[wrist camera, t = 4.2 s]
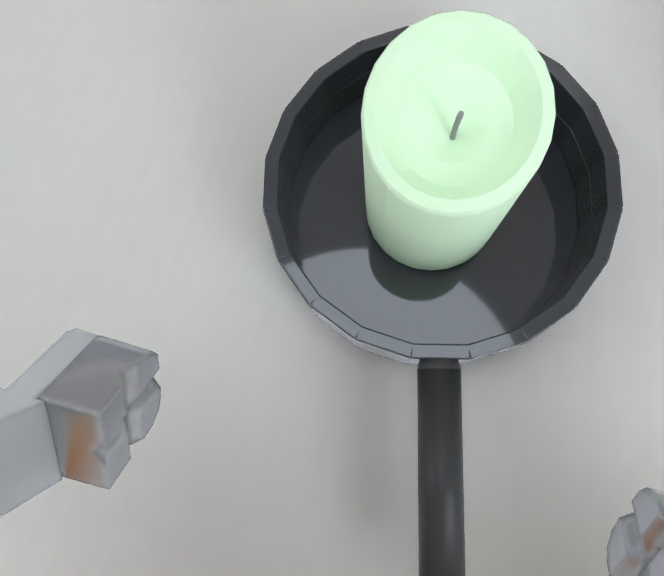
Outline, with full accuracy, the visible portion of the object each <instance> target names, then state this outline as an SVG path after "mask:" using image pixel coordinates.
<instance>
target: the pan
mask: <svg viewBox="0 0 664 576" xmlns="http://www.w3.org/2000/svg"><path fill="white" fill-rule="evenodd" d="M408 27H409V26H406V27H403V28H400V29H396V30H393V31H390V32H387V33H384V34H381V35H378V36H374V37H371V38H368V39H365V40H362V41H360V42H358V43H356V44H355V45H353V46H352V47H350V48H349V49H347V50H346V51H344V52H343V53H341V54H340V55H338V56H337V57H335V58H334V59H332V60H331V61H329V62H328V63H326V64H325V65H323V66H322V67H320V68H319V69H318V70H317V71H315V72H314V74H313V75H312V76H311V77H310V79H309V80H308V81H307V82H306V84H305V85H304V86H303V87H302V89H301V90H300V91H299V92H298V93H297V95H296V96H295V97H294V98H293V100H292V101H291V102H290V103H289V105H288V106H287V107H286V108H285V111H283V114H282V116H281V119H280V121H279V124H278V127H277V129H276V132H275V134H274V137H273V139H272V142H271V145H270V147H269V150H268V152H267V155H266V159H265V174H264V195H263V209H264V210H263V212H264V215H265V219H266V222H267V226H268V229H269V233H270V236H271V240H272V243H273V246H274V250H275V253H276V257H277V259H278V262H279V263H280V265H281V266H282V268H283V269H284V270H285V272H286V273H287V275H288V276H289V278H290V279H291V280H292V282H293V283H294V285H295V286H296V288H297V289H298V291H299V292H300V293H301V295H302V296H303V298H304V299H305V301H306V302H307V303H308V305H309V306H310V308H311V309H312V310H313V312H314V313H315V315H316V316H317V317H318V318H319V319H320V320H322V321H323V322H324V323H326V324H327V325H328V326H330V327H331V328H332V329H333V330H334V331H336V332H337V333H339V334H340V335H342V336H343V337H344V338H346V339H347V340H349V341H350V342H351V343H353V344H354V345H355V346H358V347H359V348H361V349H364V350H367V351H369V352H372V353H375V354H377V355H380V356H383V357H386V358H389V359H393V360H396V361H399V362H402V363H407V364H418V363H419V360H423V359H434V358H439V357H442V358H447V359H451V360H458V361H459V363H460V364H463V363H467V362H470V361H473V360H476V359H480V358H483V357H486V356H489V355H493V354H496V353H499V352H502V351H506V350H509V349H511V348H514V347H516V346H519V345H522V344H524V343H526V342H529V341H530V340H532V339H533V338H535V337H536V336H537V335H539V334H540V333H542V332H543V331H544V330H546V329H547V328H549V327H550V326H551V325H553V324H554V323H556V322H557V321H558V320H560V319H561V318H562V317H564V316H565V315H567V314H568V313H569V312H571V311H572V310H574V308H575V307H577V305H578V304H579V303H580V301H581V300H582V298H583V297H584V295H585V294H586V293H587V291H588V290H589V288H590V287H591V285H592V284H593V283H594V281H595V280H596V278H597V277H598V276H599V274H600V273H601V271H602V270H603V268H604V267H605V266H606V264H607V262H608V260H609V257H610V254H611V250H612V246H613V243H614V239H615V235H616V232H617V228H618V224H619V221H620V217H621V213H622V210H623V209H622V207H623V202H622V189H621V177H620V164H619V155H618V151H617V149H616V146H615V144H614V142H613V140H612V137H611V135H610V133H609V131H608V128H607V126H606V124H605V121H604V119H603V117H602V115H601V112H600V110H599V108H598V106H597V105H596V102H595V101H594V100H593V99H592V98H591V97H590V96H589V95H588V94H587V93H586V91H585V90H584V89H583V88H582V87H581V86H580V85H579V84H578V83H577V81H576V80H575V79H574V78H573V77H572V76H571V75H570V74H569V73H568V72H567V70H566V69H565V68H564V67H563V66H562V65H560V64H559V63H558V62H556V61H554V60H553V59H551V58H549V57H547V56H546V55H544V54H542V53H541V52H539V51H538V52H539V54H540V55H541V57H542V58H543V60H544V61H545V63H546V66H547V69H548V72H549V75H550V78H551V81H552V83H553V86H554V96H555V109H556V117H555V123H554V128H553V134H552V139H551V143H550V145H549V147H548V150H547V152H546V154H545V156H544V158H543V161H542V163H541V165H540V167H539V168H538V170H537V171H536V173H535V174H534V176H533V177H532V178H531V180H530V181H529V183H528V184H527V186H526V187H525V188H524V190H523V191H522V193H521V194H520V196H519V197H518V198H517V200H516V201H515V203H514V204H513V206H512V207H511V208H510V210H509V211H508V213H507V214H506V216H505V217H504V218H503V220H502V221H501V223H500V224H499V226H498V227H497V228H496V230H495V231H494V233H493V234H492V236H491V237H490V238H489V240H488V241H487V242H486V244H485V245H484V246H483V247H482V249H481V250H480V251H479V252H478V253H477V254H476V255H474V256H473V257H471V258H470V259H469V260H467V261H466V262H464V263H462V264H459V265H457V266H454V267H451V268H449V269H441V270H432V271H430V270H423V269H416V268H412V267H410V266H407V265H405V264H402V263H400V262H398V261H396V260H395V259H394V258H392V257H391V256H390V255H388V254H387V253H386V252H385V251H384V250H383V249H382V248H381V247H380V245H379V244H378V243H377V241H376V240H375V239H374V237H373V235H372V232H371V230H370V227H369V225H368V221H367V212H366V199H365V181H364V163H363V145H362V127H361V111H362V104H363V96H364V89H365V86H366V84H367V82H368V79H369V77H370V74H371V72H372V69H373V67H374V64H375V63H376V61H377V60H378V59H379V57H380V56H381V54H382V53H383V52H384V50H385V49H386V47H387V46H388V45H389V43H390V42H391V41H392V40H394V39H395V38H396V37H397V36H398V35H400V34H401V33H402V32H403V31H404V30H406V29H407V28H408Z"/></svg>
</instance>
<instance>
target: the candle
mask: <svg viewBox="0 0 664 576" xmlns="http://www.w3.org/2000/svg"><path fill="white" fill-rule="evenodd" d="M555 117H556V109H555V96H554V86H553V83H552V81H551V78H550V75H549V72H548V69H547V66H546V63H545V61H544V60H543V58H542V57H541V55H540V54H539V52H538V51H537V49H536V48H535V47H534V45H533V44H532V42H531V41H530V40H529V39H528V38H527V37H526V36H525V35H523V34H522V33H521V32H520V31H518V30H517V29H516V28H515V27H514V26H512V25H511V24H510V23H508V22H505V21H503V20H501V19H499V18H496V17H494V16H492V15H489V14H487V13H481V12H472V11H464V10H458V11H451V12H445V13H439V14H434V15H432V16H430V17H428V18H425V19H423V20H421V21H419V22H417V23H414V24H412V25H410V26H409V27H408V28H407V29H406V30H404V31H403V32H402V33H401V34H400V35H398V36H397V37H396V38H395V39H394V40H392V41H391V42H390V43H389V45H388V46H387V47H386V49H385V50H384V52H383V53H382V54H381V56H380V57H379V59H378V60H377V61H376V63H375V64H374V67H373V69H372V72H371V74H370V77H369V79H368V82H367V84H366V86H365V89H364V96H363V104H362V111H361V127H362V145H363V163H364V181H365V199H366V212H367V221H368V225H369V227H370V230H371V232H372V235H373V237H374V239H375V240H376V241H377V243H378V244H379V245H380V247H381V248H382V249H383V250H384V251H385V252H386V253H387V254H388V255H390V256H391V257H392V258H394V259H395V260H396V261H398V262H400V263H402V264H405V265H407V266H410V267H412V268H416V269H423V270H430V271H432V270H441V269H449V268H451V267H454V266H457V265H459V264H462V263H464V262H466V261H467V260H469V259H470V258H471V257H473V256H474V255H476V254H477V253H478V252H479V251H480V250H481V249H482V247H483V246H484V245H485V244H486V242H487V241H488V240H489V238H490V237H491V236H492V234H493V233H494V231H495V230H496V228H497V227H498V226H499V224H500V223H501V221H502V220H503V218H504V217H505V216H506V214H507V213H508V211H509V210H510V208H511V207H512V206H513V204H514V203H515V201H516V200H517V198H518V197H519V196H520V194H521V193H522V191H523V190H524V188H525V187H526V186H527V184H528V183H529V181H530V180H531V178H532V177H533V176H534V174H535V173H536V171H537V170H538V168H539V167H540V165H541V163H542V161H543V158H544V156H545V154H546V152H547V150H548V147H549V145H550V143H551V139H552V134H553V128H554V123H555Z"/></svg>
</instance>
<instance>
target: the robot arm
mask: <svg viewBox="0 0 664 576" xmlns="http://www.w3.org/2000/svg"><path fill="white" fill-rule="evenodd" d="M158 370H159V361H158V354H156V353H155V352H153V351H150V350H147V349H143V348H140V347H137V346H134V345H130V344H127V343H124V342H120V341H117V340H114V339H111V338H107V337H104V336H99V335H96V334H93V333H89V332H86V331H83V330H79V329H76V328H75V329H73V330H70V331H67V332H66V333H65V334H64V335H62V336H61V337H60V338H59V339H58V340H57V341H56V342H55V343H54V344H53V345H52V346H51V347H50V348H49V349H48V350H47V351H46V352H45V353H44V354H43V355H42V356H41V357H40V358H39V359H37V360H36V361H35V362H34V363H33V364H32V365H31V366H30V367H29V368H28V369H27V370H26V371H25V372H24V373H23V374H22V375H21V376H20V377H19V378H18V379H17V380H16V381H15V382H14V383H13V384H11V385H10V386H9V387H8V388H7V389H6V390H5V389H1V388H0V517H1V516H3V515H5V514H6V513H8V512H10V511H11V510H13V509H14V508H16V507H18V506H19V505H21V504H23V503H24V502H26V501H28V500H29V499H31V498H32V497H34V496H36V495H37V494H39V493H41V492H42V491H44V490H45V489H47V488H49V487H50V486H52V485H54V484H55V483H57V482H59V481H60V480H62V477H66V478H69V479H73V480H77V481H80V482H84V483H87V484H91V485H94V486H98V487H101V488H105V489H110V488H111V486H112V485H113V483H114V482H115V480H116V479H117V478H118V476H119V475H120V473H121V472H122V470H123V469H124V467H125V466H126V464H127V463H128V461H129V460H130V458H131V457H130V447H129V445H131V444H133V443H135V442H137V441H139V440H141V439H143V438H145V436H146V435H147V433H148V431H149V430H150V428H151V427H152V425H153V423H154V420H155V418H156V415H157V413H158V410H159V406H160V400H161V388H160V386H159V384H158V383H157V382H156V380H155V379H154V378H153V376H154V375H155V374H156V372H157V371H158ZM61 476H62V477H61ZM632 505H633V509H634V513H631V514H628V515H626V516H623V517H620V518H619V519H618V521H617V522H616V524H615V525H614V527H613V528H612V530H611V533H610V537H609V541H608V545H607V564H608V571H609V576H664V492H662V491H659V490H655V489H651V488H645V489H643V490H640V491H639V492H638V493H637V495H636V496H635V497H634V499H633V500H632Z"/></svg>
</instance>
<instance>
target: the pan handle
mask: <svg viewBox="0 0 664 576" xmlns="http://www.w3.org/2000/svg"><path fill="white" fill-rule="evenodd" d="M417 372H418V515H419V576H465V541H464V494H463V448H462V401H461V367H460V363H459V361H458V360H451V359H447V358H442V357H439V358H434V359H423V360H419V363H418V369H417Z"/></svg>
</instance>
